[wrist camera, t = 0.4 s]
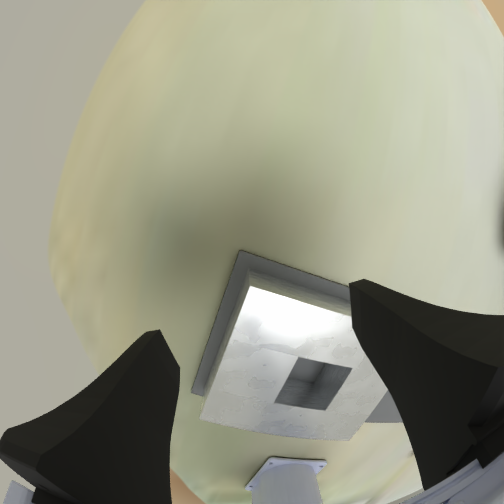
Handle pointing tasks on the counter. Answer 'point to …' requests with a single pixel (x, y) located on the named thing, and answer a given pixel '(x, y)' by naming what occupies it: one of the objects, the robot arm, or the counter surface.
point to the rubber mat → (303, 366)
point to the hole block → (290, 365)
